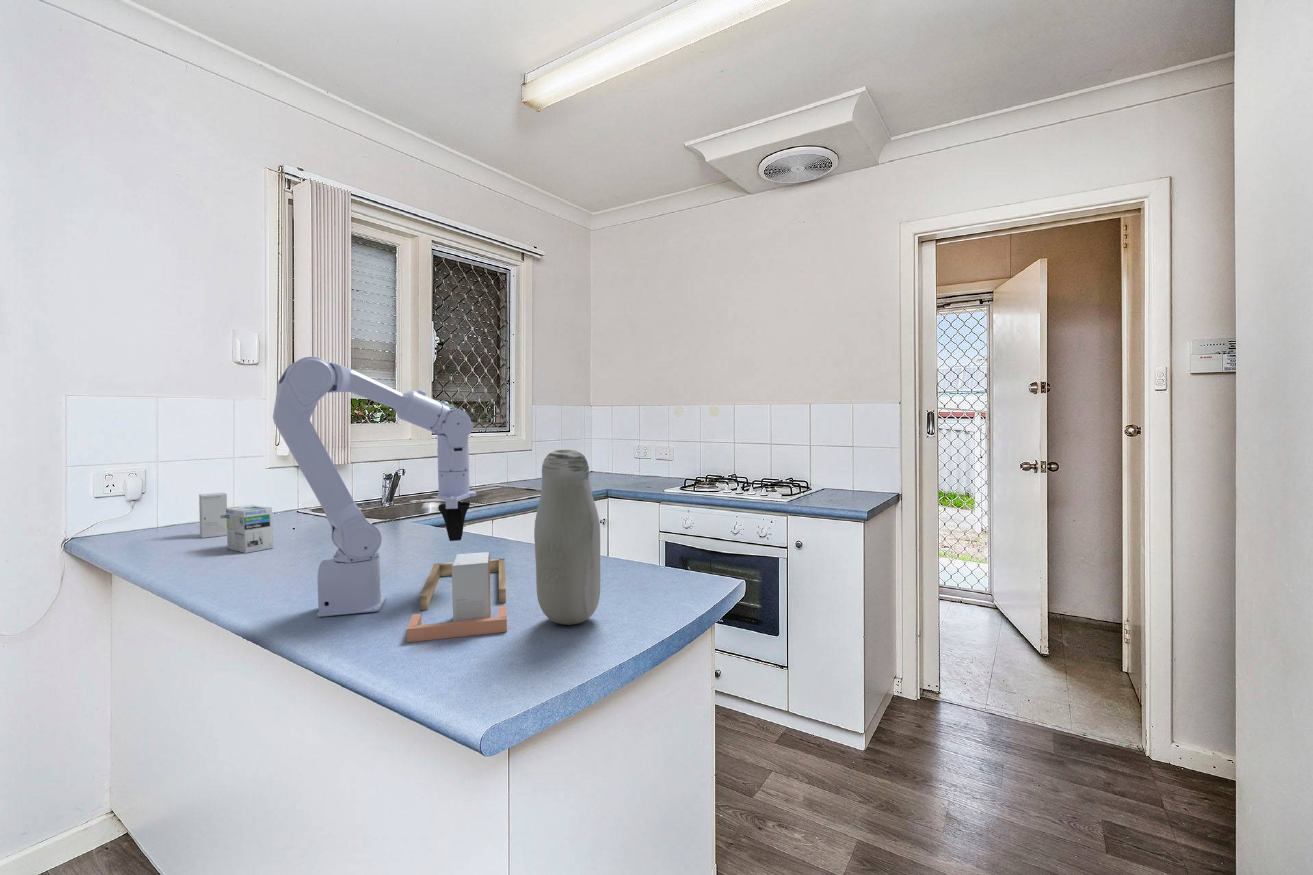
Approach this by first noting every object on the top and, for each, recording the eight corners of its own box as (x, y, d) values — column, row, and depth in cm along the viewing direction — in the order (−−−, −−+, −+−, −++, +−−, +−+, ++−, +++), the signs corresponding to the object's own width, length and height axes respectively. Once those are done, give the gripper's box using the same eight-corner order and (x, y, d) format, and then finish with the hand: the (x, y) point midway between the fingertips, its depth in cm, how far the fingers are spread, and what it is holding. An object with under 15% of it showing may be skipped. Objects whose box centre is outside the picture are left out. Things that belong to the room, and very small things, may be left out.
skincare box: (201, 538, 162) (199, 495, 161) (199, 536, 165) (197, 494, 165) (228, 535, 166) (227, 493, 166) (226, 533, 169) (224, 491, 169)
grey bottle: (610, 615, 96) (608, 448, 95) (578, 637, 87) (575, 452, 86) (560, 607, 101) (557, 447, 99) (524, 627, 91) (521, 451, 90)
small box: (490, 628, 91) (488, 562, 91) (452, 632, 90) (451, 565, 89) (491, 611, 99) (490, 551, 99) (457, 615, 98) (455, 553, 97)
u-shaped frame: (420, 610, 100) (419, 596, 100) (434, 575, 122) (434, 563, 122) (505, 602, 104) (505, 588, 104) (504, 569, 126) (504, 558, 125)
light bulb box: (274, 548, 149) (273, 506, 148) (245, 553, 143) (243, 510, 143) (255, 543, 155) (253, 503, 154) (226, 548, 149) (224, 507, 149)
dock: (407, 642, 86) (406, 629, 86) (413, 626, 92) (413, 614, 92) (506, 631, 90) (506, 618, 90) (506, 617, 96) (506, 605, 96)
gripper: (473, 473, 106) (475, 546, 107) (476, 466, 120) (478, 531, 121) (432, 475, 104) (434, 549, 105) (440, 467, 118) (442, 533, 119)
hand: (455, 540), depth 113 cm, fingers closed
